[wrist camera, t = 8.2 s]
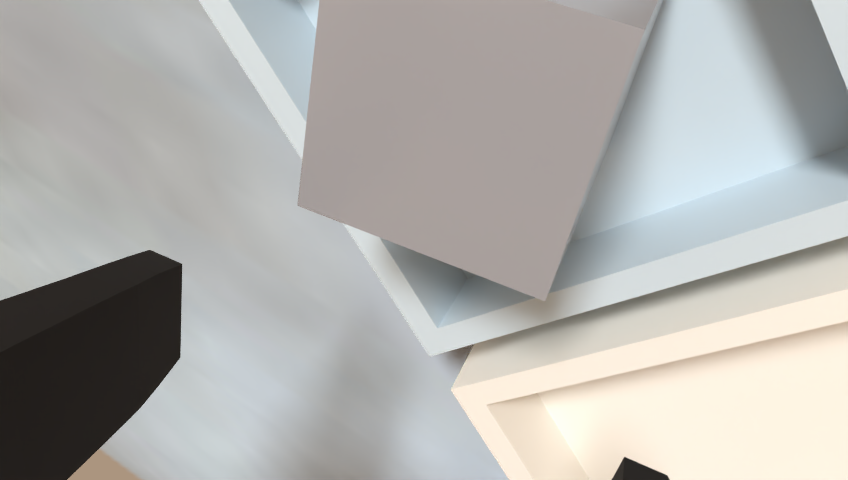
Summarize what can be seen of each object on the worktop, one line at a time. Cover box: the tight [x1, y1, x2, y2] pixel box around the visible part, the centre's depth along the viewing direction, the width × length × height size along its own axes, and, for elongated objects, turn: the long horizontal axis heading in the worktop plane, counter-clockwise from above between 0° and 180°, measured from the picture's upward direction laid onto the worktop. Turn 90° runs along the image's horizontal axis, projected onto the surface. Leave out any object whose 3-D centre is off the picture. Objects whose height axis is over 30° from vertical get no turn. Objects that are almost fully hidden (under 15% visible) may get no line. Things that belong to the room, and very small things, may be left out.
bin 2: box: [451, 236, 848, 480], centre depth 19 cm, size 11×11×3 cm
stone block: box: [298, 0, 664, 301], centre depth 14 cm, size 4×4×6 cm
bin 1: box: [199, 0, 848, 357], centre depth 16 cm, size 11×11×3 cm
